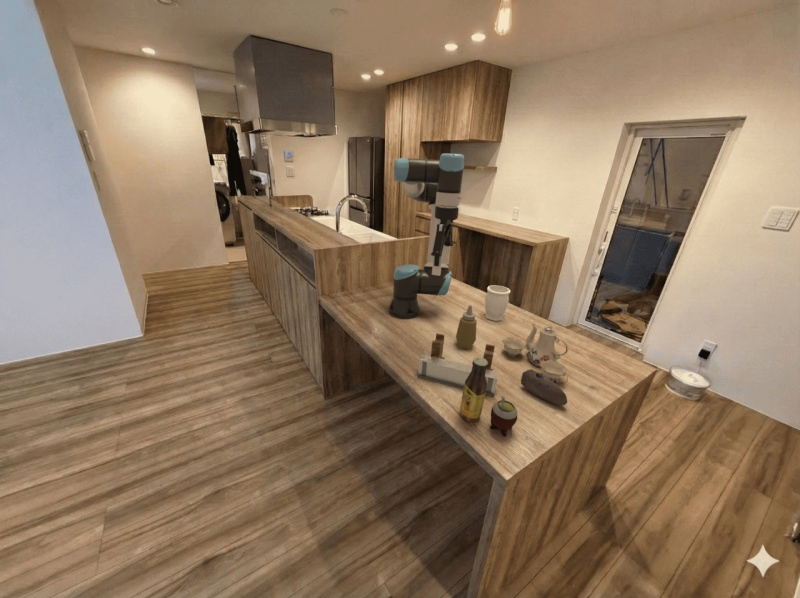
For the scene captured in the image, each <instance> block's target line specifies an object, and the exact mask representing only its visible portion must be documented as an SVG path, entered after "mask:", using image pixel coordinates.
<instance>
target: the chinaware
mask: <svg viewBox="0 0 800 598" xmlns="http://www.w3.org/2000/svg"><path fill="white" fill-rule="evenodd" d="M531 326H532V330H531V332H529V333H530V334H529V335H528V336H527V337H526V340H525V343H524V341H523V340H521V339H519V338H514V337H511V336H509V337H507V338H505V339H504V338H503V339H502V340H501V341H502V344H503V347H504V350H505V351H506V353H507V356H510V357H516V355H517V356H518V355H519V354H521V353H522V352H523V350H524V349H525V348H526V349H527V356H528V358H529V359H528V360H529V362H530V363H531V364H533V365H534V366H535V367H539V368H540V371H541V374H542V375H543V376H545V377H546V378H548V379H549V380H551V381H552V382H553V383H554V381H556V383H558V382H561V383H563V384H566V383H568V381H569V378H568V376H567V375H566V374H567V371H566V366H565V365H563V364H561V363H558V362H557V360H560V359H561V356H565V355H566V354H567V353H568V351H569V344H568V343H567V341H565V339H562V338H561V337H558V335H559V331H557V330H556V329H555V328H553V325H552V324H549V325H547V326H542V327H540V328H539V336H538V339H537V341H536V342H535V341H534V339H535V336H536V334H537V331H538V330H537V328H538V327H537V324H535V323H531ZM560 341H561V342H562V343H563V344H564V345H565V351H564V353H557V351H556V348H555V342H556V343H560ZM562 377H563V378H564V377H565V378H566V381H562V380H561V378H562Z"/></svg>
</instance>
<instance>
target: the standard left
mask: <svg viewBox="0 0 800 598" xmlns="http://www.w3.org/2000/svg"><path fill="white" fill-rule="evenodd" d="M444 343H445V334H442V333H437V332H436V335H435V339H434V340H432V341H431V350H430V356H432V357H437V358H441V359H445V356H443V353H444V352H443V351H444ZM445 360H446V359H445Z"/></svg>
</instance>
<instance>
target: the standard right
mask: <svg viewBox="0 0 800 598" xmlns="http://www.w3.org/2000/svg"><path fill="white" fill-rule="evenodd" d="M495 347H496V346H495V344H490V343H486V344H485V349H484V353H483V357H482V358H484V359H486V360H487V362H488V366H487V368H486V369H487V370H491V371H494V368H492V364H493V359H494V352H495V349H496V348H495Z"/></svg>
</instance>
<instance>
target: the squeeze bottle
mask: <svg viewBox="0 0 800 598" xmlns="http://www.w3.org/2000/svg"><path fill="white" fill-rule="evenodd" d="M455 339H456V343H457V346H458V347H459V348H461V349H464V350H467V349H468V350H469V349H471V348H472V347H473V346H474V344H475V342H476V340H477V319H476V314H475V312H473V306H472V305H468V307H467V310H466V311H464V312H463V314H462V316H461V318H459V323H458V326H457V331H456V334H455Z"/></svg>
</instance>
